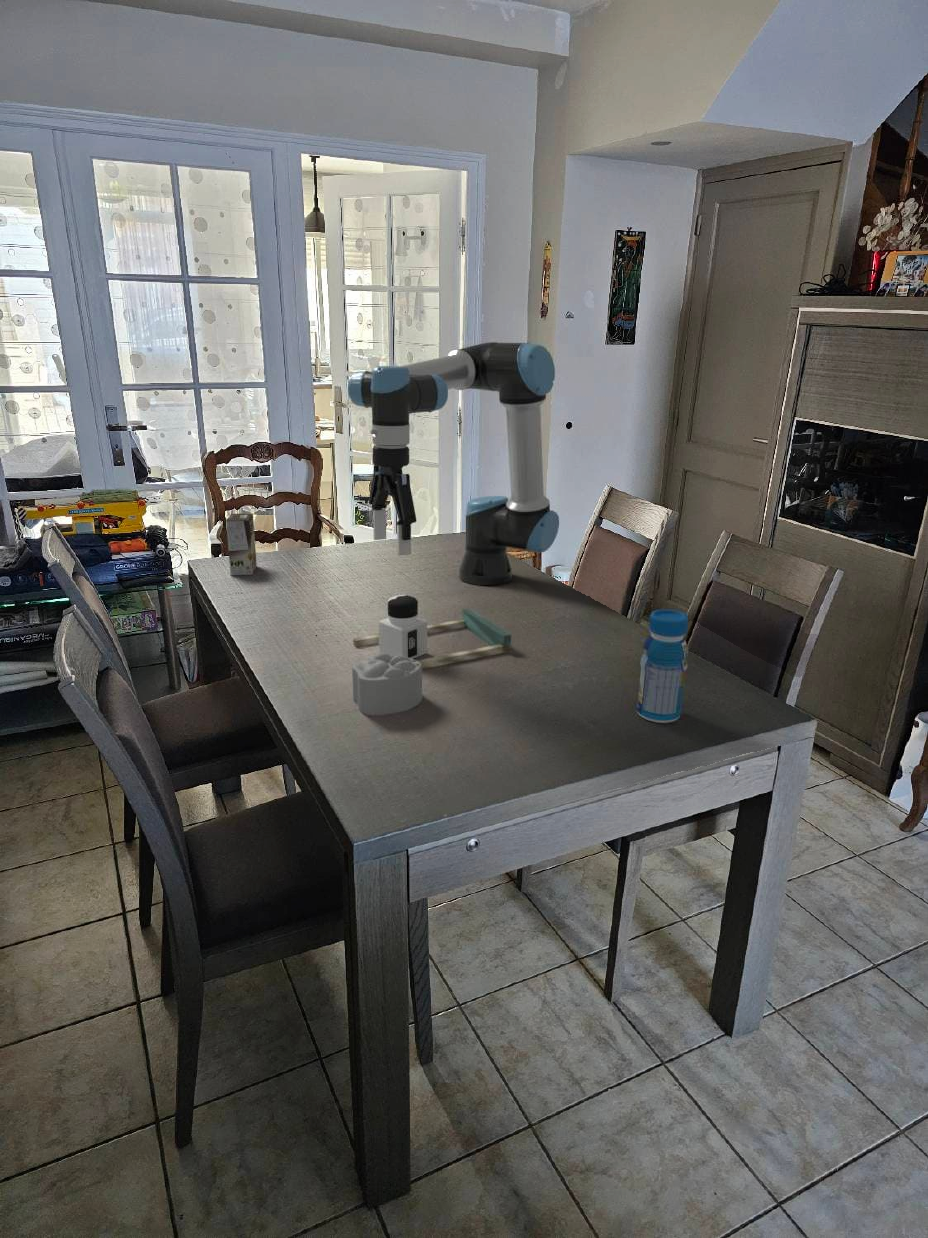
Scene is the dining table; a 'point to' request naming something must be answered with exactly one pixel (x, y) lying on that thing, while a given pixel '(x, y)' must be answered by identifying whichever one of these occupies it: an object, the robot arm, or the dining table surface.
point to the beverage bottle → (663, 667)
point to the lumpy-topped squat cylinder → (387, 684)
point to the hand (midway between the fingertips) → (391, 546)
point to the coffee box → (241, 544)
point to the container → (403, 629)
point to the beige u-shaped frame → (469, 620)
